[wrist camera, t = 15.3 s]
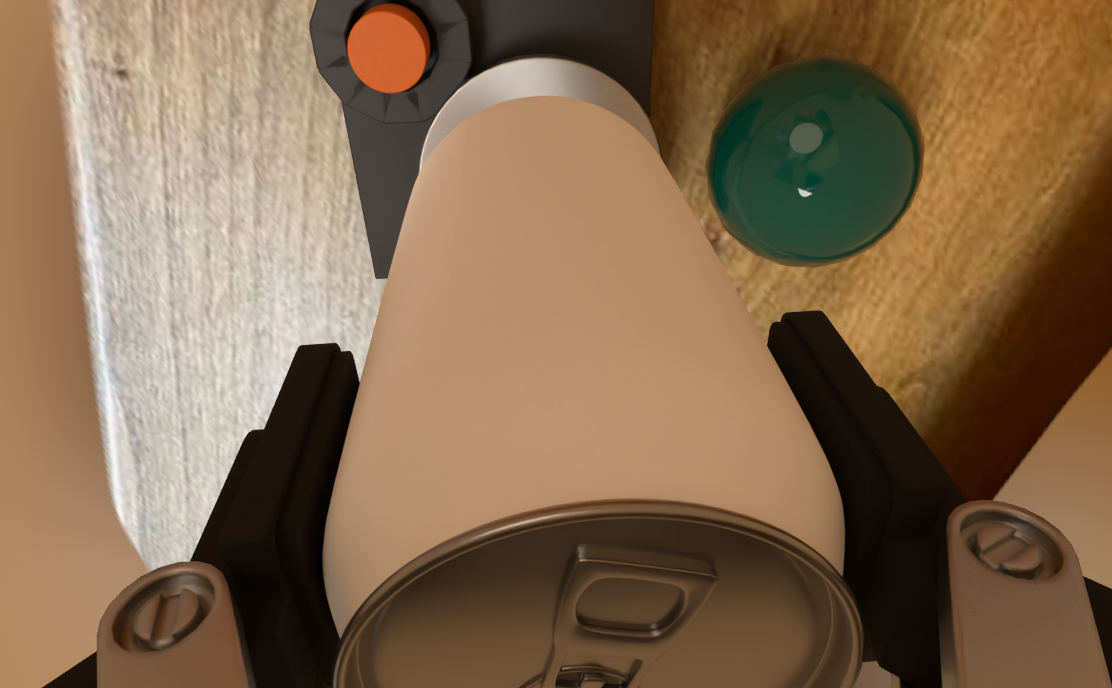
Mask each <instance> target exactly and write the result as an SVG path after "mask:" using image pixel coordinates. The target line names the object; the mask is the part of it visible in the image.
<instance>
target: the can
mask: <svg viewBox="0 0 1112 688" xmlns="http://www.w3.org/2000/svg"><path fill="white" fill-rule="evenodd" d="M844 553H845V523H844V512H843V505H842V500H841V496H840V492H839V489H838V486H837V483H836V481H835V478H834V475H833V473H832V470H831V467H830V465H829V462H828V460H827V458H826V456H825V454H824V452H823V450H822V448H821V446H820V444H819V442H818V440H817V438H816V436H815V434H814V432H813V430H812V428H811V426H810V424H809V422H808V420H807V418H806V417H805V415H804V413H803V411H802V409H801V407H800V405H799V404H798V402H797V400H796V398H795V396H794V394H793V393H792V391H791V389H790V387H789V385H788V383H787V381H786V380H785V378H784V376H783V374H782V372H781V370H780V369H779V367H778V365H777V363H776V361H775V359H774V358H773V356H772V354H771V352H770V350H769V349H768V347H767V345H766V343H765V341H764V340H763V338H762V336H761V334H760V332H759V330H758V329H757V327H756V325H755V323H754V321H753V320H752V318H751V316H750V314H749V312H748V311H747V309H746V307H745V305H744V303H743V302H742V300H741V298H740V296H739V294H738V293H737V291H736V289H735V287H734V285H733V284H732V282H731V280H730V278H729V276H728V275H727V273H726V271H725V269H724V267H723V266H722V264H721V262H720V260H719V258H718V257H717V255H716V253H715V251H714V250H713V248H712V246H711V244H710V242H709V241H708V239H707V237H706V235H705V234H704V232H703V230H702V228H701V226H700V225H699V223H698V221H697V219H696V218H695V216H694V214H693V212H692V210H691V209H690V207H689V205H688V203H687V202H686V200H685V198H684V196H683V195H682V193H681V191H680V189H679V188H678V186H677V184H676V182H675V181H674V179H673V177H672V176H671V174H670V172H669V171H668V169H667V167H666V166H665V164H664V162H663V161H662V159H661V158H660V156H659V155H658V153H657V152H656V150H655V149H654V148H653V147H652V145H651V144H650V143H649V142H648V141H647V140H646V138H645V137H644V136H643V135H642V134H641V133H640V132H639V131H637V130H636V129H635V128H634V127H633V126H632V125H630V124H629V123H628V122H626V121H625V120H623V119H622V118H620V117H619V116H617V115H616V114H614V113H612V112H610V111H608V110H606V109H604V108H602V107H599V106H597V105H594V104H591V103H588V102H585V101H582V100H577V99H573V98H567V97H559V96H532V97H523V98H518V99H513V100H509V101H505V102H502V103H499V104H496V105H493V106H491V107H488V108H486V109H484V110H482V111H480V112H478V113H476V114H474V115H472V116H471V117H469V118H468V119H466V120H465V121H463V122H462V123H460V124H459V125H458V126H456V127H455V128H454V129H453V130H452V131H450V132H449V133H448V134H447V135H446V136H445V137H444V138H443V139H442V140H441V141H440V143H439V144H438V145H437V146H436V147H435V149H434V150H433V151H432V153H431V154H430V155H429V157H428V158H427V160H426V162H425V163H424V165H423V167H422V169H421V171H420V173H419V175H418V177H417V179H416V182H415V184H414V187H413V190H412V193H411V196H410V199H409V203H408V206H407V210H406V213H405V216H404V220H403V224H402V227H401V231H400V234H399V238H398V242H397V245H396V249H395V253H394V256H393V260H392V264H391V268H390V271H389V275H388V279H387V283H386V286H385V290H384V294H383V297H382V301H381V305H380V309H379V313H378V316H377V320H376V324H375V328H374V331H373V335H372V339H371V343H370V347H369V350H368V354H367V358H366V362H365V366H364V369H363V373H362V377H361V381H360V385H359V389H358V392H357V396H356V400H355V404H354V408H353V412H352V416H351V419H350V423H349V427H348V431H347V435H346V439H345V443H344V447H343V451H342V455H341V459H340V463H339V467H338V471H337V475H336V479H335V483H334V487H333V492H332V497H331V501H330V506H329V510H328V515H327V520H326V526H325V534H324V542H323V552H322V569H323V578H324V585H325V590H326V595H327V599H328V603H329V607H330V610H331V614H332V617H333V620H334V623H335V626H336V629H337V632H338V635H339V637H340V641H339V644H338V646H337V649H336V653H335V656H334V660H333V665H332V672H331V688H853V687H854V685H855V683H856V681H857V678H858V676H859V673H860V670H861V666H862V662H863V658H864V651H865V629H864V623H863V618H862V614H861V611H860V608H859V605H858V603H857V600H856V598H855V596H854V594H853V592H852V591H851V589H850V587H849V586H848V584H847V583H846V581H845V580H844V578H843V567H844Z"/></svg>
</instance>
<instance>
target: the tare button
mask: <svg viewBox="0 0 1112 688" xmlns="http://www.w3.org/2000/svg"><path fill="white" fill-rule="evenodd" d="M347 51H348V57H349V61H350V64H351V66H352V68H353V70H354V72H355V73H356V75H357V76H358V77H359V78H360V79H361V80H362V81H363V82H364V83H365V84H366V85H368V86H369V87H371V88H373V89H375V90H377V91H380V92H385V93H398V92H402V91H405V90H407V89H409V88H411V87H412V86H413V85H415V84H416V83H417V81H418V80H419V79H420V77H421V76H422V74H423V72H424V69H425V67H426V64H427V61H428V58H429V55H430V38H429V34H428V31H427V29H426V27H425V25H424V23H423V22H422V20H421V19H420V18H419V17H418V16H417V15H416V14H415V13H414V12H413V11H411V10H410V9H408V8H406V7H404V6H402V5H399V4H394V3H384V4H379V5H376V6H374V7H372V8H371V9H369V10H368V11H367V12H366V13H365V14H364V15H363V16H362V17H361V18H360V19H359V20H358V21H357V22H356V24H355V25H354V26H353V28H352V30H351V32H350V34H349V38H348V44H347Z"/></svg>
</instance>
